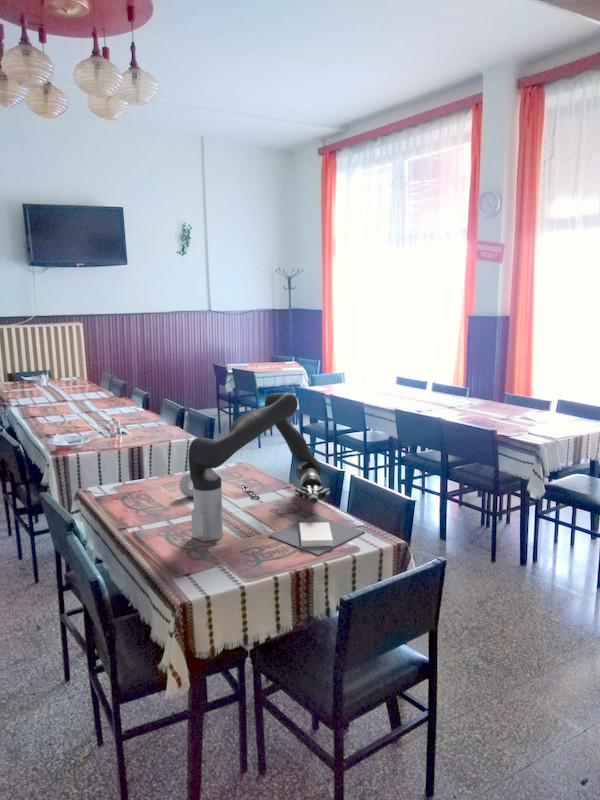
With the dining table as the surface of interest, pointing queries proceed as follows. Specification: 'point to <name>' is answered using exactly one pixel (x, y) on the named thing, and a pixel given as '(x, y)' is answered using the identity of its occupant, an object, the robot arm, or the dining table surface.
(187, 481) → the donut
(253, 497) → the throwing knife
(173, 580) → the dining table surface
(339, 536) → the mat
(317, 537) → the tile
